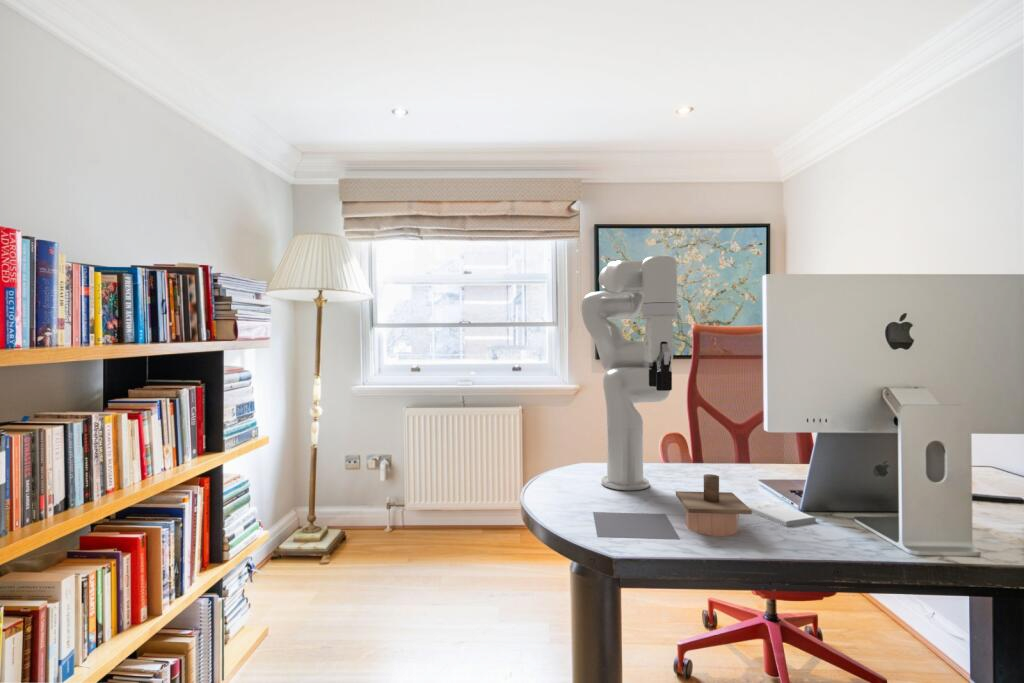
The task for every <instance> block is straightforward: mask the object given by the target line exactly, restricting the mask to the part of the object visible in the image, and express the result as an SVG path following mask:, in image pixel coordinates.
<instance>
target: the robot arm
mask: <svg viewBox="0 0 1024 683" xmlns="http://www.w3.org/2000/svg"><path fill="white" fill-rule="evenodd" d="M677 264H678V263H677V260H676V258H675V257H673V256H670V255H652V256H648V257H646V258H644V260H616V261H609V263H607V265H606V266H605V267H604V268H602V270H601V271H600V273H599V276H598V283H599V285H600V287H601V288H602V290H600V291H593V292H590V293H588V294H586V295H584V297H583V299H582V300H581V305H580V306H581V310H580V312H581V317H582V321H583V323H584V326H585V328H586V330H587V332H588V333H589V335H590V336H591V338H592V339H593V341H594V343H595V348H596V351H597V353H598V356H599V359H600V360H599V361H600V363H601V366H602V367H603V369H604V370H605V374H604V376H603V380H602V386H603V393H604V398H605V405H606V407H605V408H606V449H607V450H606V460H607V462H606V467H607V468H606V469H607V470H606V471H607V472H606V474H607V475H605V476H603V477H602V478H601V484H602V485H603V486H604V487H606V488H608V489H613V490H617V491H618V490H619V491H620V490H621V491H640V490H645V489H647V488H649V486H650V481H649V480H648V479H647V478H645V477H644V424H643V422H644V421H643V417H642V415H641V413H640V412H639V410H638V409H637V408H636V407H635V405H634V404H639V403H660V402H663V401H665V400H666V399H667V398H669V395H670V391H672V390H673V372H672V371H673V370H672V362H673V360H674V324H673V319H678V265H677ZM640 313H642V318H641V319H642V320H643V319H645V320H646V321H645V329H644V330H645V331H644V332H645V333H644V340H627V339H625V337H624V334H623V332H622V330H621V329H620V327H618V326H617V324H615V323H614V322H612V321H610V320H631V319H636V318H637V317H638V316H639V314H640Z"/></svg>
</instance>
